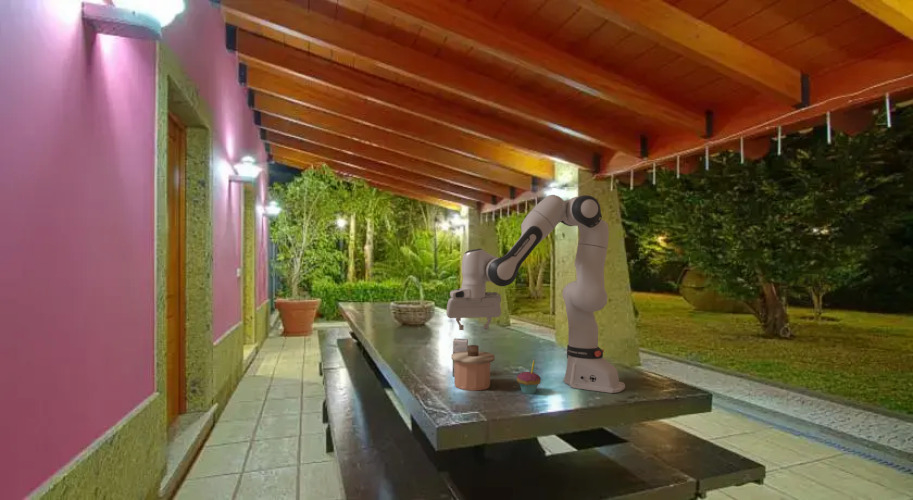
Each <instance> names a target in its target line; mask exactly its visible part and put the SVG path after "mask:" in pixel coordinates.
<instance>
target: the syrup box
mask: <svg viewBox="0 0 913 500" xmlns="http://www.w3.org/2000/svg"><path fill="white" fill-rule="evenodd" d="M468 345H469V339H468V338H456V337H455V338H453V340H452V354H453V353H455V352H461V351H468ZM451 373H452V377H454V378H455V361H454V360H452V372H451Z"/></svg>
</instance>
